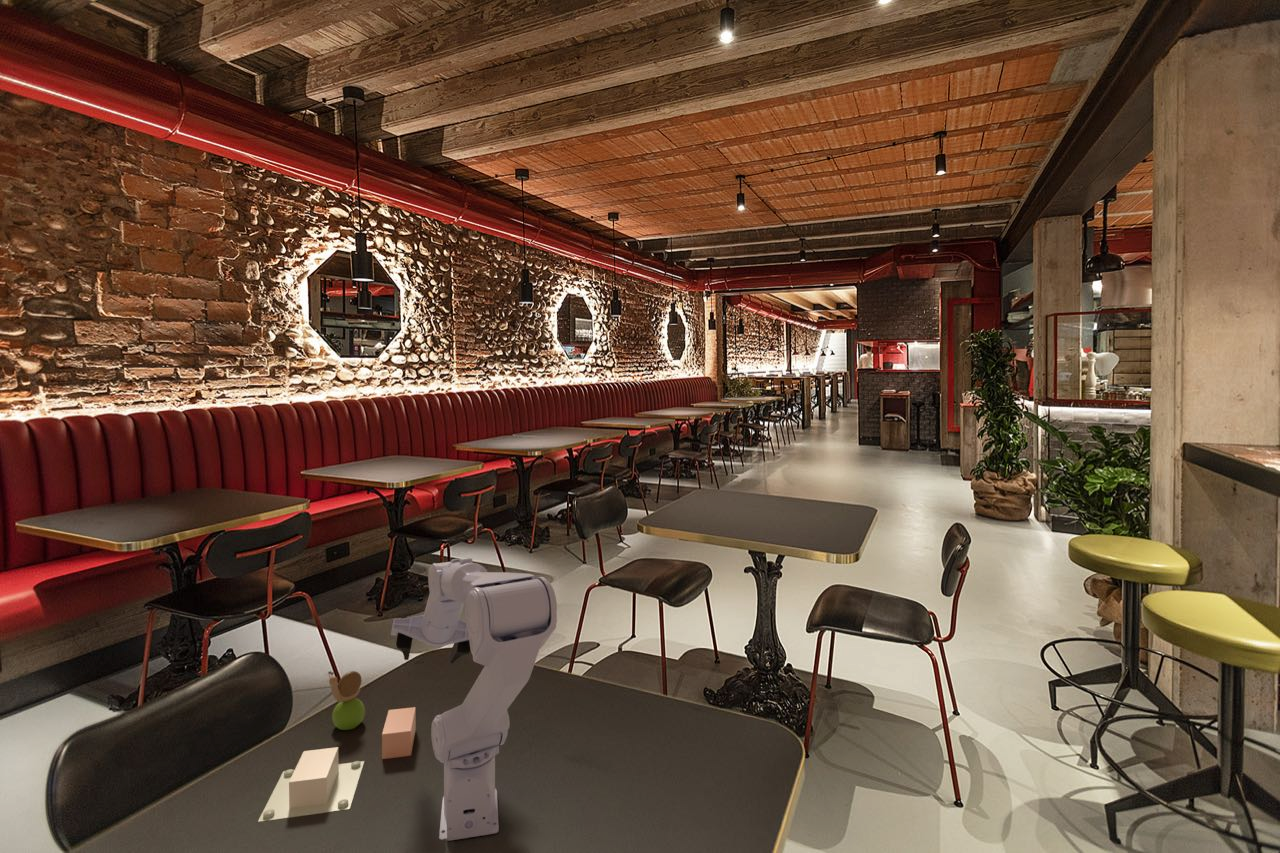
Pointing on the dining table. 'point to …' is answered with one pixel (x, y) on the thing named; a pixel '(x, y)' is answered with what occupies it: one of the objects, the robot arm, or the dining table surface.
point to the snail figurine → (347, 701)
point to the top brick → (399, 733)
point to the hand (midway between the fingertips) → (429, 656)
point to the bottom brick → (313, 778)
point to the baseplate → (336, 802)
